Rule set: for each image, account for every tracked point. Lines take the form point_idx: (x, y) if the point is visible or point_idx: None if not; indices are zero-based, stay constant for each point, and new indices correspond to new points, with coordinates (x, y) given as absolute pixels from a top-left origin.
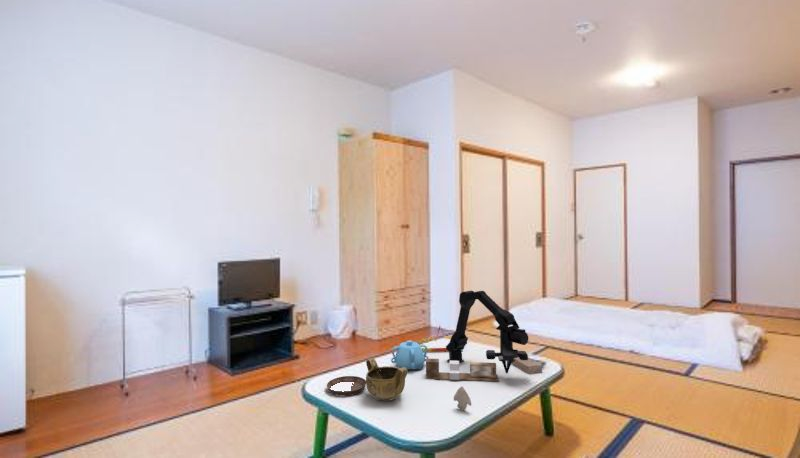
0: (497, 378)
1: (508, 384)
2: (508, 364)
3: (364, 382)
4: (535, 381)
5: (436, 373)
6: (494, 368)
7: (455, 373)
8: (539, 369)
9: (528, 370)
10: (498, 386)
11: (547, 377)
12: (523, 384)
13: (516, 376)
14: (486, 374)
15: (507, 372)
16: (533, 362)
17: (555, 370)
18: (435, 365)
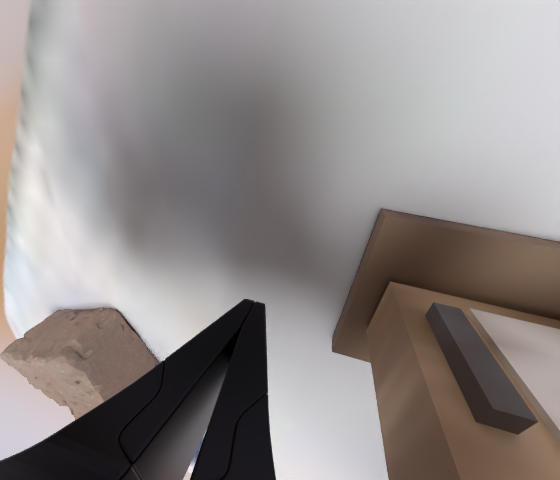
0: (377, 269)
1: (292, 124)
2: (143, 428)
3: None
4: (53, 188)
5: None
6: (491, 410)
7: None
8: (40, 328)
9: (94, 331)
10: (479, 33)
11: (8, 247)
12: (133, 117)
13: (189, 298)
14: (556, 340)
15: (243, 305)
16: (52, 392)
17: (10, 319)
18: None
